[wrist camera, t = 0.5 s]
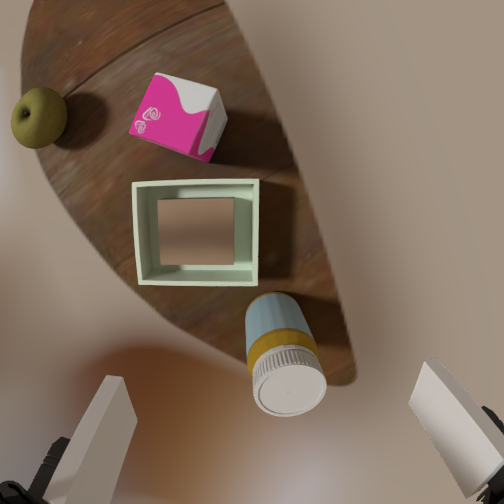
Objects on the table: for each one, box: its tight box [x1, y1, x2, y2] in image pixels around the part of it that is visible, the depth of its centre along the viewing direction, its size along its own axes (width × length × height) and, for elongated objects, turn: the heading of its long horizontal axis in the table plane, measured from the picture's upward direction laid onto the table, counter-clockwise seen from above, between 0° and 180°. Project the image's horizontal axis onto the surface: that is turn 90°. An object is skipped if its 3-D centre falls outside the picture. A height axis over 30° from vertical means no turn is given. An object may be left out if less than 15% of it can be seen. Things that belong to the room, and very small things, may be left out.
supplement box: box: [129, 72, 228, 163], centre depth 25 cm, size 6×6×12 cm
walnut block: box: [157, 197, 234, 265], centre depth 31 cm, size 7×8×3 cm
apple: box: [11, 87, 67, 149], centre depth 25 cm, size 8×8×7 cm
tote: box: [132, 179, 259, 286], centre depth 31 cm, size 11×13×4 cm
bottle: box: [245, 292, 326, 417], centre depth 29 cm, size 7×7×15 cm
